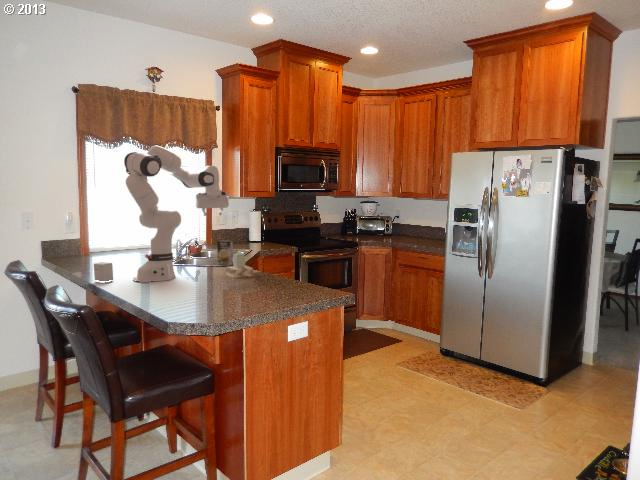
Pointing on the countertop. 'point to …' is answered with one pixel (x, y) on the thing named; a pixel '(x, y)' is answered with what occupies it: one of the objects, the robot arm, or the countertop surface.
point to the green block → (239, 260)
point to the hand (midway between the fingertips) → (212, 215)
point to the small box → (103, 271)
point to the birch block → (239, 271)
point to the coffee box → (225, 252)
